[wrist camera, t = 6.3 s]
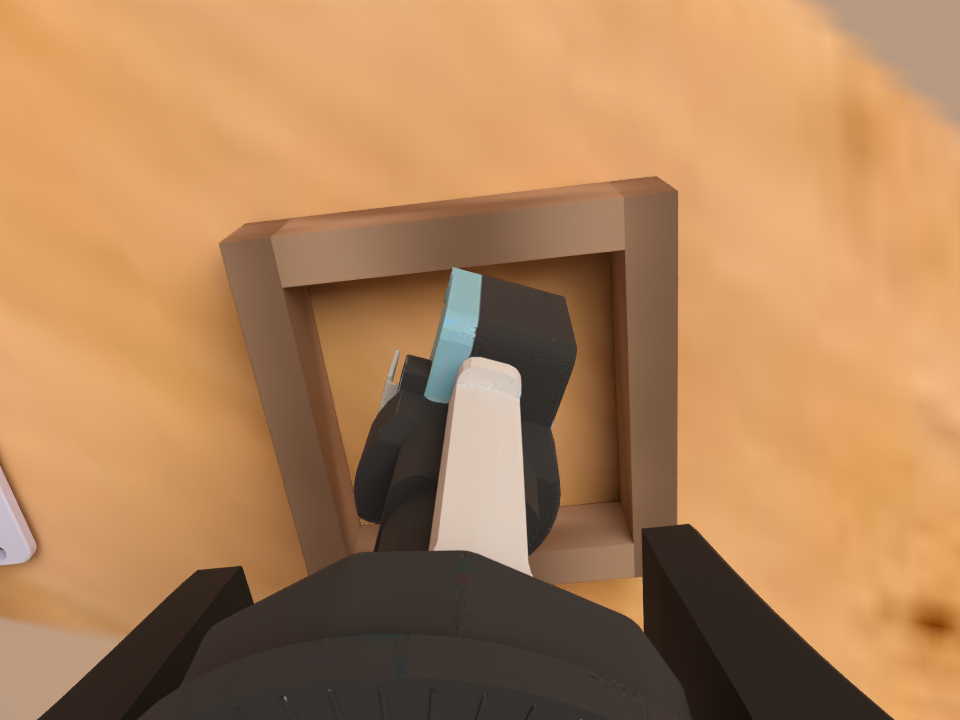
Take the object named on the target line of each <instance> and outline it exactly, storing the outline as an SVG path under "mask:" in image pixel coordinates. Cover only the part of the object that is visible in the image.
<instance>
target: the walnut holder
mask: <svg viewBox="0 0 960 720" xmlns="http://www.w3.org/2000/svg"><path fill="white" fill-rule="evenodd" d="M219 246H220V250H221V254H222V257H223V261H224V265H225V269H226V272H227V276H228V280H229V283H230V287H231V291H232V294H233V298H234V302H235V305H236V309H237V313H238V316H239V320H240V324H241V327H242V331H243V335H244V338H245V342H246V346H247V350H248V353H249V357H250V361H251V364H252V368H253V372H254V375H255V379H256V383H257V386H258V390H259V394H260V397H261V401H262V405H263V408H264V412H265V416H266V419H267V423H268V427H269V431H270V434H271V438H272V442H273V445H274V449H275V453H276V456H277V460H278V464H279V467H280V471H281V475H282V478H283V482H284V486H285V489H286V493H287V497H288V500H289V504H290V508H291V512H292V515H293V519H294V523H295V526H296V530H297V534H298V537H299V541H300V545H301V548H302V552H303V556H304V559H305V563H306V567H307V570H308V574H309V576H310V575H312V574H314V573H315V572H317V571H319V570H321V569H323V568H325V567H327V566H329V565H331V564H333V563H335V562H337V561H339V560H341V559H343V558H345V557H347V556H349V555H351V554H356V553H361V552H373V551H374V547H375V542H376V538H377V534H378V530H379V526H380V524H374V525H363V526H361V524H360V519H359V516H358V514H357V510H356V505H355V501H354V492H353V488H352V483H351V479H350V475H349V470H348V466H347V461H346V457H345V452H344V448H343V443H342V439H341V434H340V430H339V426H338V421H337V417H336V412H335V408H334V403H333V399H332V394H331V390H330V385H329V381H328V377H327V372H326V368H325V363H324V359H323V354H322V350H321V345H320V341H319V336H318V332H317V327H316V323H315V319H314V314H313V310H312V305H311V301H310V296H309V292H308V287H307V285H312V284H321V283H330V282H339V281H348V280H357V279H366V278H375V277H384V276H393V275H402V274H411V273H420V272H429V271H438V270H447V269H452V268H453V267H454V268H465V267H474V266H483V265H492V264H501V263H510V262H519V261H528V260H537V259H546V258H555V257H564V256H573V255H582V254H591V253H600V252H609V251H611V272H612V299H613V325H614V352H615V378H616V405H617V432H618V458H619V485H620V501H615V502H605V503H594V504H584V505H573V506H563V507H559V510H558V514H557V517H556V520H555V522H554V524H553V527H552V529H551V531H550V533H549V534H548V536H547V537H546V538H545V540H544V541H543V543H542V544H541V545H540V546H539V547H538V548H537V549H536V550H535V551H534V552H533V553H532V554H531V555H530V556H528V563H529V567H530V570H531V574H532V575H533V577H535V578H537V579H539V580H542V581H544V582H547V583H549V584H551V585H556V584H567V583H578V582H589V581H600V580H611V579H622V578H633V577H643V571H642V528H651V527H662V526H673V525H677V372H678V191H677V190H676V189H674V188H673V187H671V186H670V185H669V184H667V183H666V182H664V181H663V180H661V179H660V178H658V177H657V176H655V177H646V178H638V179H629V180H620V181H612V182H603V183H594V184H586V185H577V186H568V187H560V188H551V189H542V190H534V191H525V192H516V193H508V194H499V195H490V196H482V197H473V198H464V199H455V200H447V201H438V202H429V203H421V204H412V205H403V206H395V207H386V208H377V209H369V210H360V211H351V212H343V213H334V214H325V215H317V216H308V217H299V218H291V219H282V220H273V221H264V222H256V223H247V224H245V225H243V226H242V227H240V228H239V229H238V230H236V231H235V232H234V233H232V234H231V235H229V236H228V237H227V238H225V239H224V240H223V241H221V242H220V243H219Z"/></svg>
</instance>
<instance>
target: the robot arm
mask: <svg viewBox="0 0 960 720" xmlns="http://www.w3.org/2000/svg"><path fill="white" fill-rule="evenodd" d="M0 548H2V549H3V550H4V551H3V550H1V549H0V566H1V565H11V564H21V563H24V562H27V561H28V560H29V559H30V558H31V557H32V556H33V555H34V553H35V552H36V549H37V546H36V542H35V540H34V538H33V536H32V534H31V531H30V529H29V527H28V525H27V523H26V521H25V519H24V516H23V514H22V512H21V510H20V508H19V506H18V503H17V501H16V499H15V497H14V495H13V493H12V490H11V488H10V486H9V484H8V482H7V480H6V478H5V475H4V473H3V471H2V469H1V467H0ZM642 571H643V614H644V634H645V635H646V636H647V638H648V639H649V640H650V642H651V643H652V645H653V646H654V647H655V649H656V650H657V651H658V653H659V654H660V656H661V657H662V658H663V660H664V661H665V662H666V664H667V665H668V666H669V668H670V669H671V671H672V672H673V673H674V675H675V676H676V677H677V679H678V680H679V682H680V683H681V684H682V687H683V689H684V692H685V695H686V699H687V702H688V706H689V710H690V713H691V717H692V720H894V719H893V718H892V717H891V716H889V715H888V714H887V713H886V712H885V711H884V710H882V709H881V708H880V707H879V706H878V705H877V704H875V703H874V702H873V701H872V700H871V699H870V698H868V697H867V696H866V695H865V694H864V693H863V692H861V691H860V690H859V689H858V688H857V687H856V686H855V685H853V684H852V683H851V682H850V681H849V680H848V679H846V678H845V677H844V676H843V675H842V674H841V673H840V672H839V671H838V670H836V669H835V668H834V667H833V666H832V665H831V664H830V663H829V662H828V661H827V660H825V659H824V658H823V657H822V656H821V655H820V654H819V653H818V652H817V651H816V650H815V649H814V648H813V647H811V646H810V645H809V644H808V643H807V642H806V641H805V640H804V639H803V638H802V637H801V636H800V635H799V634H798V633H797V632H796V631H795V630H794V629H792V628H791V627H790V626H789V625H788V624H787V623H786V622H785V621H784V620H783V619H782V618H781V617H780V616H779V615H778V614H777V613H776V612H775V611H774V610H773V609H772V608H771V607H770V606H769V605H768V604H767V603H766V602H765V601H764V600H763V599H762V598H761V597H760V596H759V595H758V594H757V593H756V592H755V591H754V590H753V589H752V588H751V587H750V586H749V585H748V584H747V583H746V582H745V581H744V580H743V579H742V578H741V577H740V576H739V575H738V574H737V573H736V572H735V571H734V570H733V569H732V568H731V567H730V566H729V564H728V563H727V562H726V561H725V560H724V559H723V558H722V557H721V556H720V555H719V554H718V553H717V552H716V551H715V549H714V548H713V547H712V546H711V545H710V544H709V543H708V542H707V541H706V540H705V539H704V538H703V536H702V535H701V534H700V533H699V532H698V531H697V530H696V529H695V528H693V527H692V526H691V525H690V524H683V525H673V526H662V527H651V528H642ZM253 604H254V602H253V599H252V596H251V593H250V590H249V587H248V583H247V580H246V577H245V574H244V571H243V568H242V566H236V567H226V568H215V569H205V570H197V571H196V572H195V573H194V574H192V575H191V576H190V577H189V578H188V579H187V580H186V581H184V582H183V583H182V584H181V585H180V586H179V587H178V588H177V589H176V590H175V591H174V592H172V593H171V594H170V595H169V596H168V597H167V598H166V599H165V600H164V601H163V602H162V603H161V604H160V605H159V606H158V607H157V608H156V609H155V610H153V611H152V612H151V613H150V614H149V615H148V616H147V617H146V618H145V619H144V620H143V621H142V622H141V623H140V624H139V625H138V626H137V627H136V628H135V629H134V630H133V631H132V632H131V633H130V634H129V635H127V636H126V637H125V638H124V639H123V640H122V641H121V642H120V643H119V644H118V645H117V646H116V647H115V648H114V649H113V650H112V651H111V652H110V653H109V654H108V655H106V656H105V657H104V659H102V660H101V661H100V662H99V663H98V664H97V665H96V666H95V667H94V668H93V669H92V670H91V671H90V672H88V673H87V674H86V675H85V676H84V677H83V678H82V679H81V680H80V681H79V682H78V683H77V684H76V685H75V686H74V687H73V688H72V689H70V690H69V691H68V692H67V693H66V694H65V695H64V696H63V697H62V698H61V699H60V700H59V701H58V702H57V703H55V704H54V705H53V706H52V707H51V708H50V709H49V710H48V711H46V712H45V713H44V714H43V715H42V716H41V717H40V718H39V719H37V720H137V719H138V718H139V717H141V716H142V715H143V714H144V713H145V712H146V711H148V710H149V709H150V708H151V707H152V706H153V705H155V704H156V703H157V702H158V701H159V700H161V699H162V698H164V697H165V696H167V695H168V694H170V693H171V692H173V691H174V690H176V689H177V688H179V687H180V686H181V683H182V681H183V679H184V677H185V675H186V673H187V671H188V669H189V667H190V665H191V663H192V661H193V659H194V657H195V655H196V653H197V651H198V649H199V647H200V644H201V642H202V640H203V638H204V636H205V635H206V633H207V632H208V631H209V630H210V629H211V627H212V626H214V625H215V624H217V623H218V622H220V621H222V620H224V619H226V618H228V617H230V616H232V615H234V614H236V613H238V612H239V611H241V610H243V609H245V608H247V607H249V606H251V605H253Z"/></svg>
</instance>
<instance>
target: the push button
mask: <svg viewBox="0 0 960 720" xmlns="http://www.w3.org/2000/svg"><path fill="white" fill-rule="evenodd" d="M444 303H445V304H444V308H443V312H442V316H441V319H440V323H439V327H438V331H437V334H436V338H435V342H434V345H433V349H432V353H431V357H430V360H428V359H424V358H420V357H416V356H413V355H407V356H406V360H405V363H404V367H403V370H402V374H401V378H400V382H399V384H396V383H393V378H394V374H395V370H396V366H397V362H398V358H399V353H400V351H398V350H396V351H395V355H394V358H393V361H392V364H391V367H390V370H389V373H388V377H387V380H386V383H385V387H384V391H383V395H382V399H381V404H380V408H379V412H378V415H377V417H376V418H375V420H374V422H373V424H372V426H371V429H370V432H369V435H368V438H367V441H366V444H365V447H364V450H363V453H362V456H361V459H360V462H359V465H358V469H357V472H356V477H355V483H354V501H355V505H356V510H357V514H358V516H359V517H360V518H362V519H364V520H366V521H368V522H371V523H375V524H380V526H379V530H378V534H377V538H376V542H375V547H374V551H373V552H361V553H356V554H351V555H349V556H347V557H345V558H343V559H341V560H339V561H337V562H335V563H333V564H331V565H329V566H327V567H325V568H323V569H321V570H319V571H317V572H315V573H314V574H312V575H310V576H308V577H306V578H304V579H302V580H300V581H298V582H296V583H294V584H292V585H290V586H288V587H286V588H284V589H282V590H280V591H278V592H277V593H275V594H273V595H271V596H269V597H267V598H265V599H263V600H261V601H259V602H257V603H255V604H253V605H251V606H249V607H247V608H245V609H243V610H241V611H239V612H238V613H236V614H234V615H232V616H230V617H228V618H226V619H224V620H222V621H220V622H218V623H217V624H215V625H214V626H212V627H211V629H210V630H209V631H208V632H207V633H206V635H205V636H204V638H203V640H202V642H201V644H200V647H199V649H198V651H197V653H196V655H195V657H194V659H193V661H192V663H191V665H190V667H189V669H188V671H187V673H186V675H185V677H184V679H183V681H182V683H181V686H180V687H179V688H177V689H176V690H174V691H173V692H171V693H170V694H168V695H167V696H165V697H164V698H162V699H161V700H159V701H158V702H157V703H156V704H155V705H153V706H152V707H151V708H150V709H149V710H148V711H146V712H145V713H144V714H143V715H142V716H141V717H139V718H138V719H137V720H692V717H691V713H690V710H689V706H688V702H687V699H686V695H685V692H684V689H683V687H682V684H681V683H680V682H679V680H678V679H677V677H676V676H675V675H674V673H673V672H672V671H671V669H670V668H669V666H668V665H667V664H666V662H665V661H664V660H663V658H662V657H661V656H660V654H659V653H658V651H657V650H656V649H655V647H654V646H653V645H652V643H651V642H650V640H649V639H648V638H647V636H646V635H645V634H644V632H643V631H642V629H641V628H640V627H639V626H638V625H637V624H636V623H635V622H634V621H633V620H632V619H630V618H628V617H626V616H625V615H623V614H620V613H618V612H616V611H613V610H611V609H608V608H606V607H604V606H601V605H599V604H597V603H594V602H592V601H589V600H587V599H585V598H582V597H580V596H578V595H575V594H573V593H570V592H568V591H566V590H563V589H561V588H559V587H556V586H554V585H551V584H549V583H547V582H544V581H542V580H539V579H537V578H535V577H533V575H532V574H531V570H530V567H529V563H528V556H530V555H531V554H532V553H533V552H534V551H535V550H536V549H537V548H538V547H539V546H540V545H541V544H542V543H543V541H544V540H545V538H546V537H547V536H548V534H549V533H550V531H551V529H552V527H553V524H554V522H555V520H556V517H557V514H558V510H559V505H560V496H561V493H560V479H559V471H558V464H557V457H556V449H555V442H554V439H553V435H552V431H551V429H552V426H553V423H554V422H553V421H554V419H555V416H556V413H557V410H558V408H559V405H560V402H561V400H562V397H563V394H564V392H565V389H566V386H567V384H568V381H569V378H570V375H571V373H572V370H573V367H574V363H575V359H576V352H577V345H576V341H575V337H574V333H573V329H572V325H571V321H570V317H569V312H568V308H567V304H566V300H565V297H563V296H559V295H555V294H552V293H548V292H545V291H541V290H537V289H534V288H530V287H526V286H522V285H519V284H515V283H511V282H508V281H504V280H500V279H496V278H493V277H489V276H485V275H480V274H476V273H473V272H469V271H465V270H462V269H458V268H454V267H453V268H452V271H451V275H450V279H449V283H448V286H447V290H446V294H445V298H444Z"/></svg>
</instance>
